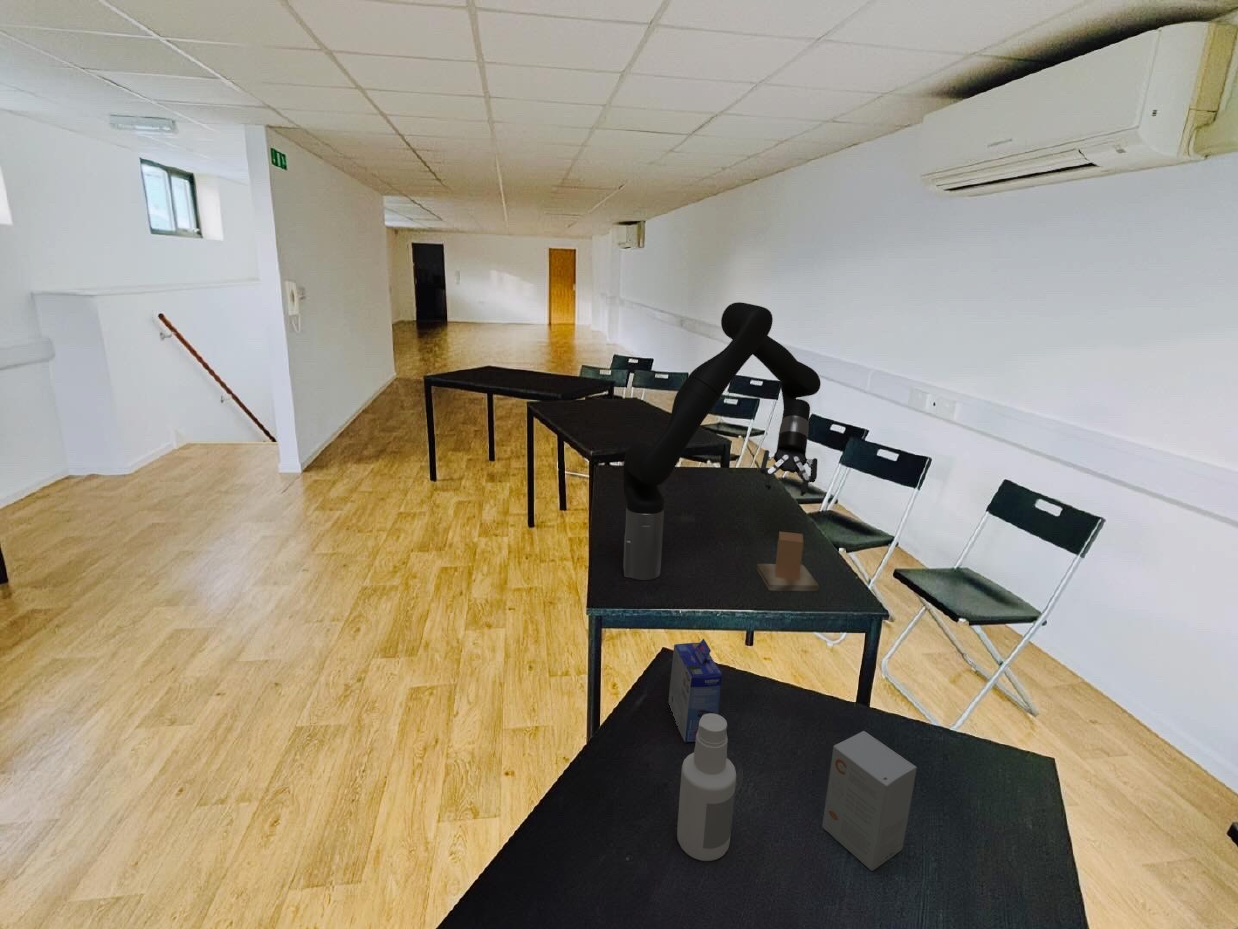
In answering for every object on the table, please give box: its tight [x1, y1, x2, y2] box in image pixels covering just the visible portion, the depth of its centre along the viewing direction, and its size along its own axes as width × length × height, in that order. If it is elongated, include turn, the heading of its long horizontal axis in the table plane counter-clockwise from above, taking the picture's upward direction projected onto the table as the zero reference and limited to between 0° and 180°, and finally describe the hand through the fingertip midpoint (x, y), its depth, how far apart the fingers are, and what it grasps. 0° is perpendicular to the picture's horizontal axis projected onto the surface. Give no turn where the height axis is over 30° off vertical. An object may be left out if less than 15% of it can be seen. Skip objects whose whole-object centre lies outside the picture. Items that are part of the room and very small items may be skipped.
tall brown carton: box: [775, 531, 804, 580], centre depth 156 cm, size 6×6×10 cm
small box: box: [821, 730, 917, 872], centre depth 82 cm, size 8×6×13 cm
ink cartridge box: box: [667, 638, 723, 743], centre depth 103 cm, size 10×6×14 cm, turn 12°
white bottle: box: [676, 713, 737, 862], centre depth 80 cm, size 7×7×18 cm
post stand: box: [756, 563, 820, 592], centre depth 157 cm, size 12×12×8 cm
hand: (785, 491), depth 164 cm, fingers open, 8 cm apart
